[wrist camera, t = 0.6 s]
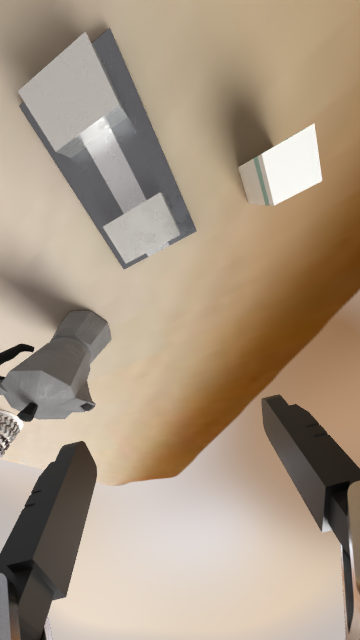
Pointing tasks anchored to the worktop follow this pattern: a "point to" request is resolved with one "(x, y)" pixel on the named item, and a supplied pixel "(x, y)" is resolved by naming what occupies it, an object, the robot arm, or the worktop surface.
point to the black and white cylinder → (8, 429)
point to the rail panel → (107, 148)
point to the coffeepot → (56, 370)
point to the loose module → (282, 169)
